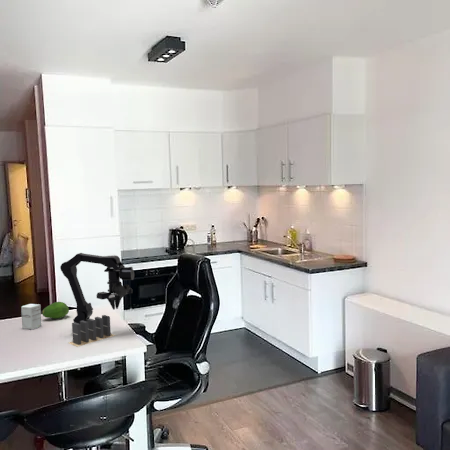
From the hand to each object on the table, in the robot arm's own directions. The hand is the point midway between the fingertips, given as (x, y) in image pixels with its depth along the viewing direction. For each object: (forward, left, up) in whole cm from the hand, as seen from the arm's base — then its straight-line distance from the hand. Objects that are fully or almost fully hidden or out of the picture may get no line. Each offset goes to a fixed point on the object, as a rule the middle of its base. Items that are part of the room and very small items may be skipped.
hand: (115, 309), depth 244 cm
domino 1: (-20, -11, -12) cm, 26 cm away
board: (-12, -7, -13) cm, 19 cm away
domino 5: (-5, -3, -12) cm, 14 cm away
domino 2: (-16, -9, -12) cm, 22 cm away
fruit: (-32, +43, -13) cm, 55 cm away
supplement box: (-44, +29, -13) cm, 55 cm away
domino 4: (-9, -5, -12) cm, 16 cm away
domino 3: (-12, -7, -12) cm, 19 cm away
